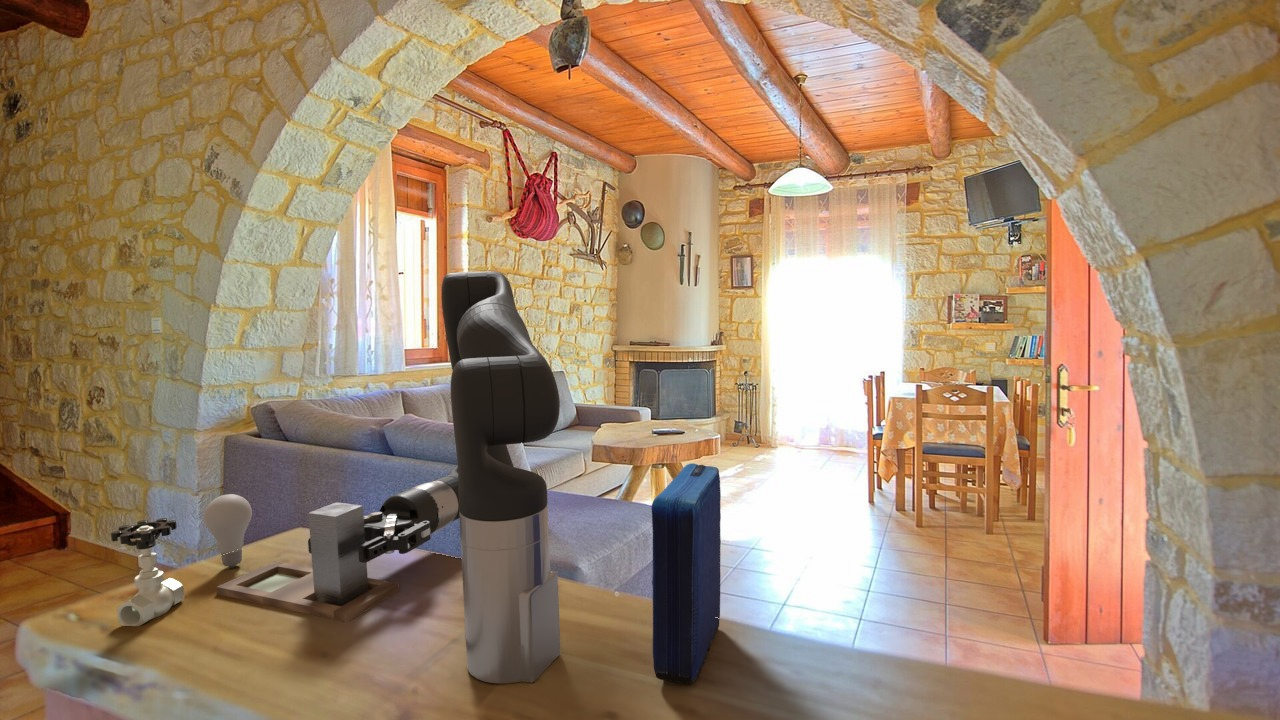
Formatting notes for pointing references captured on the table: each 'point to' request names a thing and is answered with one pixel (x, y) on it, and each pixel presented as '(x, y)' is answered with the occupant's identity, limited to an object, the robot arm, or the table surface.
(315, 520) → the metal block
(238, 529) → the lightbulb
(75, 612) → the table surface
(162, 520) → the valve
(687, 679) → the blue case
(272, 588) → the tray
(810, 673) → the table surface
